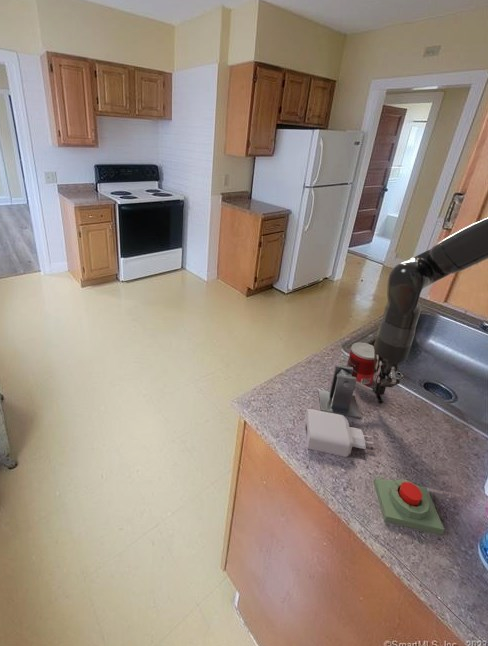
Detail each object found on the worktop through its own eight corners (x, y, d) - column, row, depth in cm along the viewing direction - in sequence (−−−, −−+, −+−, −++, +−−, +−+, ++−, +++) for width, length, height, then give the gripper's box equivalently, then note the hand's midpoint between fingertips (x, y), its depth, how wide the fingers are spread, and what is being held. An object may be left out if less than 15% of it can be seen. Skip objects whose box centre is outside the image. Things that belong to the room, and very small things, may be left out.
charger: (375, 465, 73) (306, 450, 76) (365, 432, 81) (304, 420, 84) (379, 450, 71) (309, 436, 74) (369, 418, 80) (307, 406, 83)
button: (415, 489, 65) (418, 483, 64) (422, 508, 62) (425, 502, 61) (396, 485, 66) (398, 479, 65) (402, 503, 62) (404, 497, 62)
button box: (424, 492, 67) (429, 481, 66) (441, 535, 60) (447, 523, 59) (373, 482, 69) (376, 470, 68) (384, 521, 62) (388, 510, 61)
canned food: (375, 379, 100) (384, 350, 95) (365, 392, 94) (374, 361, 90) (351, 367, 105) (357, 339, 100) (340, 379, 99) (347, 349, 95)
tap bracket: (353, 398, 92) (362, 365, 87) (360, 420, 85) (369, 385, 80) (317, 392, 94) (324, 359, 89) (320, 413, 86) (328, 378, 82)
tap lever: (374, 392, 88) (380, 386, 87) (379, 406, 83) (385, 400, 82) (335, 371, 88) (340, 365, 87) (338, 384, 84) (344, 378, 83)
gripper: (422, 355, 72) (402, 414, 78) (401, 325, 84) (386, 378, 90) (386, 350, 73) (369, 408, 80) (370, 321, 85) (357, 373, 92)
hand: (378, 392), depth 85 cm, fingers closed
